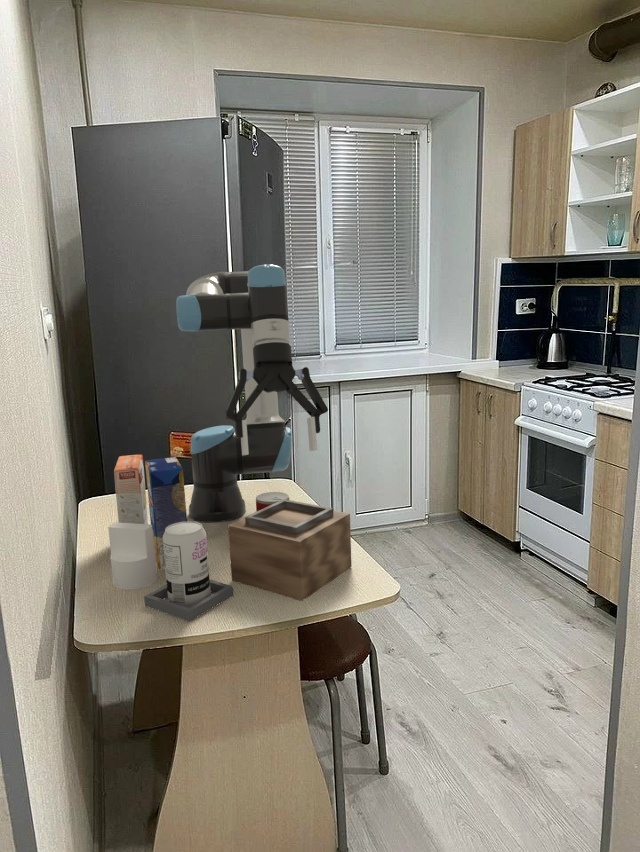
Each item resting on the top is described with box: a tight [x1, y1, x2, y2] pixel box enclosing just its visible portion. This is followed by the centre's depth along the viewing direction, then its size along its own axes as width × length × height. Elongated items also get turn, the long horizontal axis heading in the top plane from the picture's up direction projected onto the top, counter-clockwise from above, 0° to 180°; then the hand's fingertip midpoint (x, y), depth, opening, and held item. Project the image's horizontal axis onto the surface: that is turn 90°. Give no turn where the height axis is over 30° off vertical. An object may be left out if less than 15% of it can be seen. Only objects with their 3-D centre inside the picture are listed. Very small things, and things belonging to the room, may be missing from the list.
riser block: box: [227, 499, 353, 601], centre depth 137 cm, size 18×18×14 cm
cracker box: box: [113, 454, 149, 524], centre depth 154 cm, size 14×6×21 cm, turn 12°
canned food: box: [255, 491, 290, 512], centre depth 156 cm, size 8×8×11 cm
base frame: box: [143, 579, 235, 622], centre depth 127 cm, size 12×12×2 cm
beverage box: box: [144, 456, 188, 571], centre depth 146 cm, size 7×11×22 cm, turn 20°
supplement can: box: [163, 520, 212, 608], centre depth 126 cm, size 8×8×15 cm
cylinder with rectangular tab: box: [107, 521, 159, 590], centre depth 137 cm, size 9×9×12 cm
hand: (280, 452), depth 127 cm, fingers open, 13 cm apart
